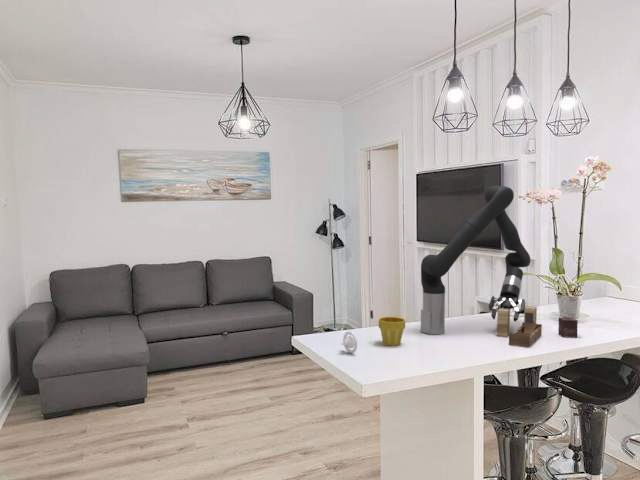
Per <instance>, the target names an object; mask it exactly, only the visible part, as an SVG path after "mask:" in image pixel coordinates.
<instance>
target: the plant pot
mask: <svg viewBox="0 0 640 480" xmlns="http://www.w3.org/2000/svg"><path fill="white" fill-rule="evenodd" d="M378 328H379V330H380V335H381V339H382V344H383V345H384V346H388V347H389V346H390V347H396V346H400V345H401V341H402V337H403V333H404V330H405V329H406V319H405V318H403V317H399V316H398V317H397V316H383V317H379V318H378Z"/></svg>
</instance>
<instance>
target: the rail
mask: <svg viewBox="0 0 640 480" xmlns="http://www.w3.org/2000/svg"><path fill="white" fill-rule="evenodd" d="M537 311H538V309H537V306H529V305H527V306H526V305H525V308H524V316H523V322H522V325H521V326H520V327H518V328H516V330H515V331H514V332H509V336H508V345H509V346H514V347H521V348H526V349H527V348H529V349H530V348H531V347H532V346H533V344H535V343H536V342H537V340H539V339H540V337H541V336H542V330H543V327H542V326H543V325H542V324H541V323H537V315H538V314H537Z"/></svg>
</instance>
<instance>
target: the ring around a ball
mask: <svg viewBox="0 0 640 480" xmlns="http://www.w3.org/2000/svg"><path fill="white" fill-rule="evenodd" d="M348 335H349V336H348ZM341 345H343V346H344V348H345V351H346V352H347V353H349V354H353V353H355V352H356V351H357V349H358V339H357V335H356V334H355V333H354V332H353V331H350V330H348V331H346V332H345V333H344V335H343V340H342V342H341Z"/></svg>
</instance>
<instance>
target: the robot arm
mask: <svg viewBox="0 0 640 480" xmlns="http://www.w3.org/2000/svg"><path fill="white" fill-rule="evenodd" d="M514 196H515V194H514V191H513V189H512V188H511V187H509V186H506V185H505V186H504V185H491V186H488V188H486V189H485V192H484V200H485V203H486V204H485V205H484V206H483V207H482V208H480V209H478V210H477V211H475V212H473V213H472V214H470V215H468V216H466V217H465V218H463V220H462V221H461V222H460V223H459V224H458V225H457V226H456V227H455V229H454V231H453V232H452V233H451V236H450V239H449V242H448V243H447V245H446V246H445V247H444V248H443V249H442V250H441V251H439V253H437V254H428V255H425V256H424V258H422V260H421V265H420V280H421V286H422V309H421V310H420V332H421V333H424V334H427V335H443V334H445V332H446V331H445V328H446V327H445V325H446V321H445V320H446V319H445V318H446V317H445V316H446V314H445V313H446V286H445V285H444V283H443V281H442V277H444V276H445V275H446V274H447V273H448V271H450V269H451V268H452V266H453V265H454V264H455V263H456V261H457V260H458V258H459V257H460V256H461V255H462V254H463V253H464V252H465V251H466V250H467V249H468V248H469V246H470V245H471V244H473V242H474V241H475V240H476V239H477V238H478V237H479V236H480V234H482V232H483V231H484V230H485V229H486V228H487V227H488V226H489V225H490V224H491V223H492V222H493V221H495V223H496V225H497V227H498V230H499V232H500V235H501V239H502V241H503V245H504V247H505V249H506V250H508V251H512V252H509V253H507V254H506V255H505V258H504V259H505V269H506V270H505V275H504V280H503V281H502V285H501V290H500V294H499V297H495V296H494V295H493V296H491V298H490V300H489V304H488V309H489V311H490V312H491V314H490V315H491V318H492V320H495V319H496V318H497V317H496V316H497V314H498V309H510V310H512V308H513V310H514V311H515V314H514V316H513V322H517V321H519V318H520V317H519V314H521V313H522V314H524V308H525V307H526V300H525V298H522V300H518V298H519V293H520V290H521V281H522V282H523V276H524V271H523V269H521V268H527V267H529V266H530V264H531V256H530V253H529V252H528V251H527V249H526V248H525V246H524V245H523V243H522V240H521V238H520V235H519V232H518V229H517V227H516V225H515V224H514V223H513V221H512V220H511V218H510V217H509V216H508V214H507V212H506V209H507V208H508V207H509V206H510V205H511V204H512V202H513V200H514ZM518 303H520V305H521V309H518V308H517V306H516V305H517V304H518Z"/></svg>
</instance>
